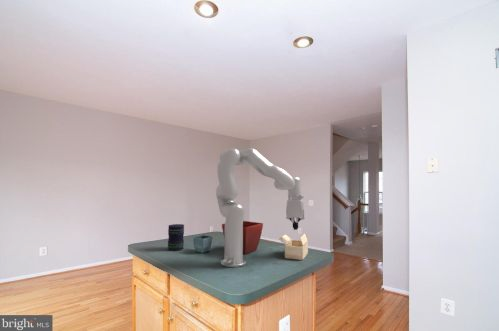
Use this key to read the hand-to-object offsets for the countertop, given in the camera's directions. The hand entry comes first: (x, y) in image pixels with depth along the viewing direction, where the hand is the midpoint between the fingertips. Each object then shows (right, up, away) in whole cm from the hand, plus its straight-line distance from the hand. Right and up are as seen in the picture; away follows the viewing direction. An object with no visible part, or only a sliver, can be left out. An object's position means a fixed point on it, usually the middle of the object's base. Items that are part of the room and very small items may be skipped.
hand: (295, 229), depth 143 cm
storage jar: (-74, -16, +12) cm, 77 cm away
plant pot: (-31, -16, +8) cm, 36 cm away
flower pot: (-56, -16, +6) cm, 58 cm away
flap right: (+4, -5, -3) cm, 7 cm away
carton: (0, -15, -2) cm, 15 cm away
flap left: (-6, -6, +2) cm, 9 cm away
